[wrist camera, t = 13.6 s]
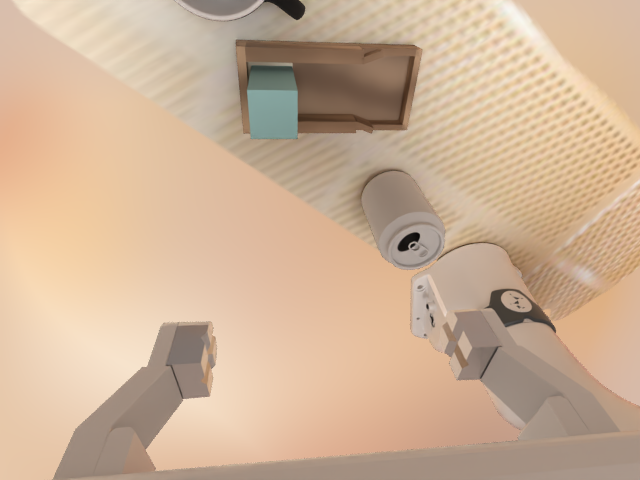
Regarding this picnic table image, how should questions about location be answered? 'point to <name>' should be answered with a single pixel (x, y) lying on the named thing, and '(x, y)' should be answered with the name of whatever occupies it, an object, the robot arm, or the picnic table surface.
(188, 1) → the mug
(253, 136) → the block
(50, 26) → the picnic table surface
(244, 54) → the brown wooden tray
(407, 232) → the can
